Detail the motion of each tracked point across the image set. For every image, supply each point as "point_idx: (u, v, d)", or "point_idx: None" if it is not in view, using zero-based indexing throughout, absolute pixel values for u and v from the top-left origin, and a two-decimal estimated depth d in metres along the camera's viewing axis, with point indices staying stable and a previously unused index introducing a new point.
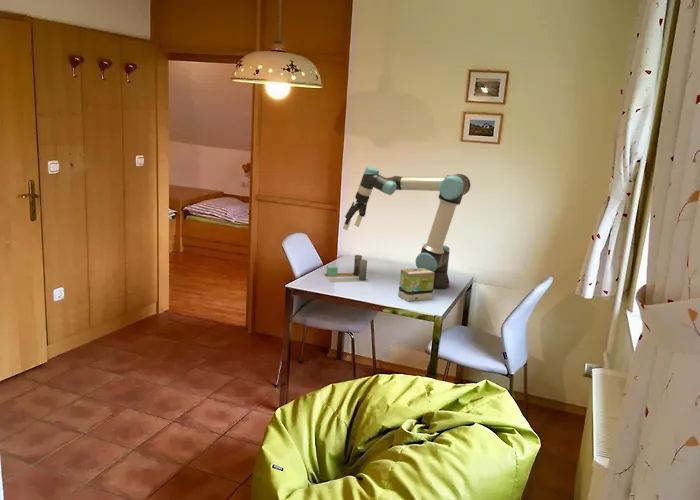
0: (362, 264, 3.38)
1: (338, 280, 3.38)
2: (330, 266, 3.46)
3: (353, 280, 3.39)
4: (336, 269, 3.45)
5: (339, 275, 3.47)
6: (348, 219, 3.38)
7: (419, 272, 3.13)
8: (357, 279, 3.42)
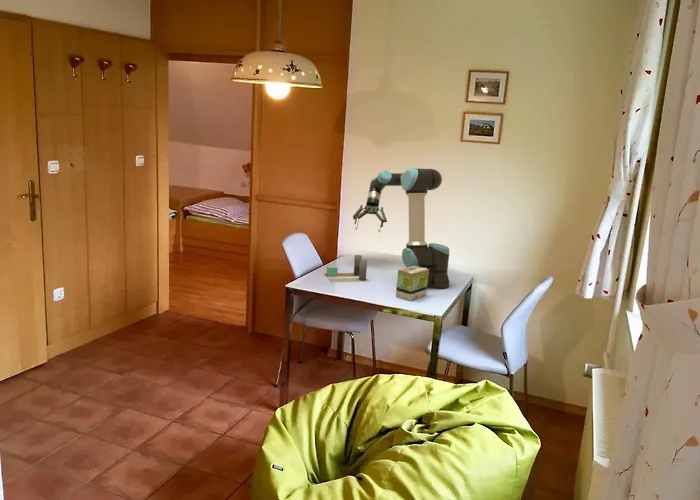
0: (362, 264, 3.38)
1: (338, 280, 3.38)
2: (330, 266, 3.46)
3: (353, 280, 3.39)
4: (336, 269, 3.45)
5: (339, 275, 3.47)
6: (355, 218, 3.64)
7: (417, 270, 3.16)
8: (357, 279, 3.42)
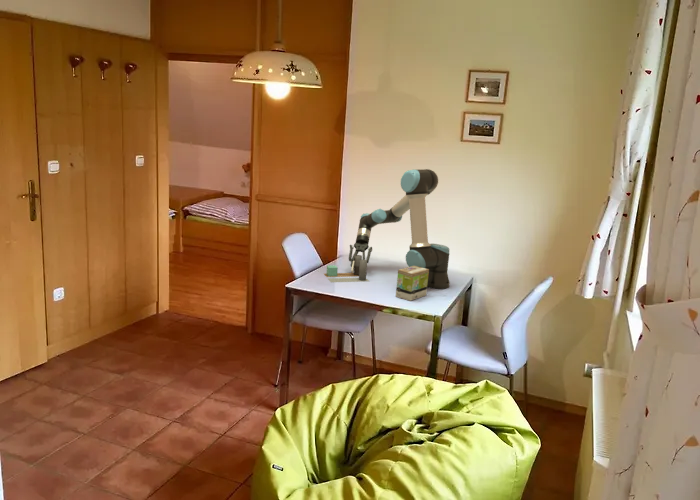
0: (362, 264, 3.38)
1: (338, 280, 3.38)
2: (330, 266, 3.46)
3: (353, 280, 3.39)
4: (336, 269, 3.45)
5: (339, 275, 3.47)
6: (351, 260, 3.51)
7: (417, 270, 3.16)
8: (357, 279, 3.42)
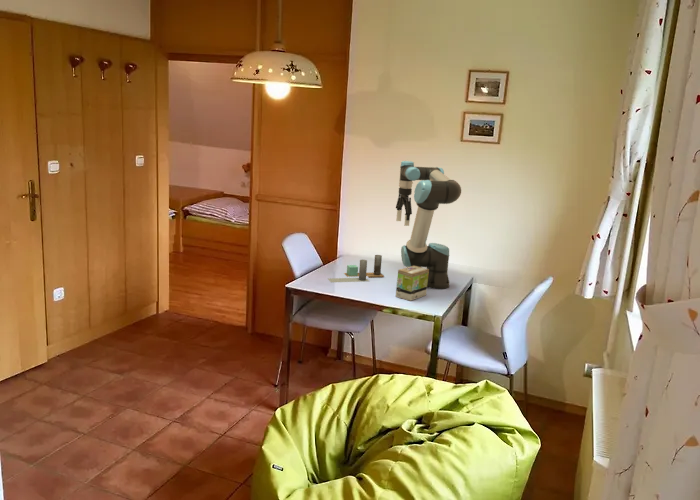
0: (362, 264, 3.38)
1: (338, 280, 3.38)
2: (350, 266, 3.49)
3: (353, 280, 3.39)
4: (356, 269, 3.48)
5: None
6: (397, 209, 3.71)
7: (417, 270, 3.16)
8: (357, 279, 3.42)
